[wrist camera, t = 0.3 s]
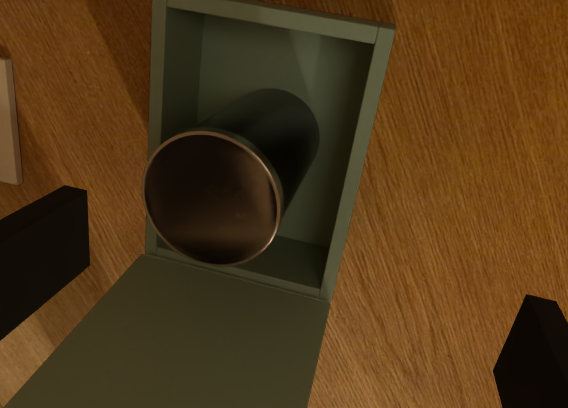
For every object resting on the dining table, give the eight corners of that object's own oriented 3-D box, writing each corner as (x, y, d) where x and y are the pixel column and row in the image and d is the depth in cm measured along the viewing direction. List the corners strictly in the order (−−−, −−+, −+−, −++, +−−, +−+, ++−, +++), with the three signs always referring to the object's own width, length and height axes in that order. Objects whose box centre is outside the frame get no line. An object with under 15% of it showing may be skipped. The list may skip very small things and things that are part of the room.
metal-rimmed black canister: (231, 77, 33) (142, 116, 22) (329, 97, 32) (291, 149, 21) (222, 170, 36) (139, 248, 25) (311, 191, 35) (269, 282, 24)
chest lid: (-111, 533, 17) (-105, 544, 18) (246, 671, 15) (244, 679, 16) (141, 253, 33) (141, 262, 34) (330, 303, 31) (328, 311, 32)
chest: (199, -10, 32) (151, -13, 26) (396, 24, 31) (395, 29, 24) (183, 216, 40) (144, 254, 34) (341, 255, 38) (330, 303, 32)
